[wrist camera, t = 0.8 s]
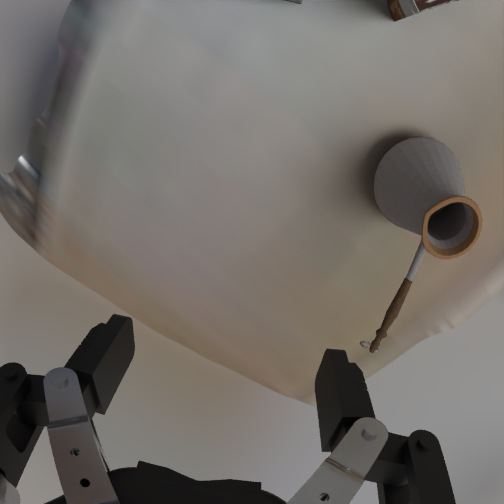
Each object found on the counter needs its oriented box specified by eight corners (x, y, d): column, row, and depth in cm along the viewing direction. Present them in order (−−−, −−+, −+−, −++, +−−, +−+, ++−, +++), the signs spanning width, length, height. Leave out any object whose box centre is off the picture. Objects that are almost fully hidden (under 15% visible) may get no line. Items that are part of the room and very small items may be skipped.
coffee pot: (395, 113, 30) (450, 150, 18) (467, 159, 31) (533, 217, 19) (318, 256, 42) (320, 342, 30) (387, 283, 43) (407, 366, 31)
